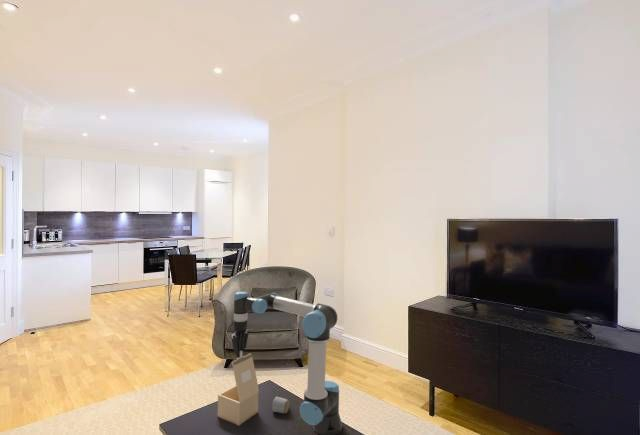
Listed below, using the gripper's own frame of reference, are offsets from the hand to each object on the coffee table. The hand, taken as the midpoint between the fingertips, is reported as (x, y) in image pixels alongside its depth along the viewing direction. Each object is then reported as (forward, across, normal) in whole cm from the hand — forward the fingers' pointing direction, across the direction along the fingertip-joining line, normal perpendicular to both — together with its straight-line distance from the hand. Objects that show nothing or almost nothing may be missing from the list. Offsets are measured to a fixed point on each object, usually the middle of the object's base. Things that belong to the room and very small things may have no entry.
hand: (239, 362), depth 195 cm
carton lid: (+7, 0, +5) cm, 8 cm away
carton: (+29, 0, 0) cm, 29 cm away
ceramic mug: (+29, -17, +17) cm, 38 cm away
